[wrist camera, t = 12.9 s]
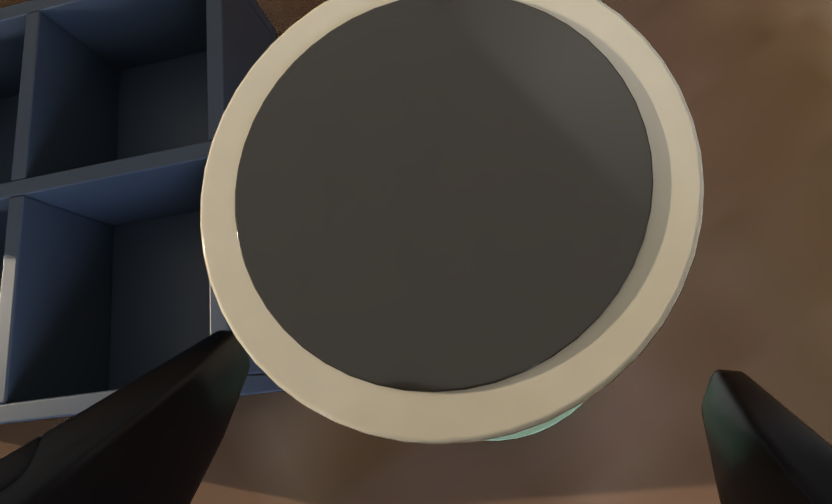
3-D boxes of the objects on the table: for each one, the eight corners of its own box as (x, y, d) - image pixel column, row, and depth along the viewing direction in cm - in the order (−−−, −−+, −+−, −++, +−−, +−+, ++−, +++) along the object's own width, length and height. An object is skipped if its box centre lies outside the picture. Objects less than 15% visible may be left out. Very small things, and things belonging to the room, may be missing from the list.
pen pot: (505, 425, 16) (499, 590, 4) (370, 323, 17) (102, 245, 6) (601, 282, 16) (831, 85, 5) (462, 195, 18) (378, -112, 6)
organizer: (295, 389, 18) (229, 397, 14) (-57, 430, 20) (-206, 448, 16) (276, 29, 22) (220, -52, 17) (-18, 99, 24) (-131, 42, 20)
